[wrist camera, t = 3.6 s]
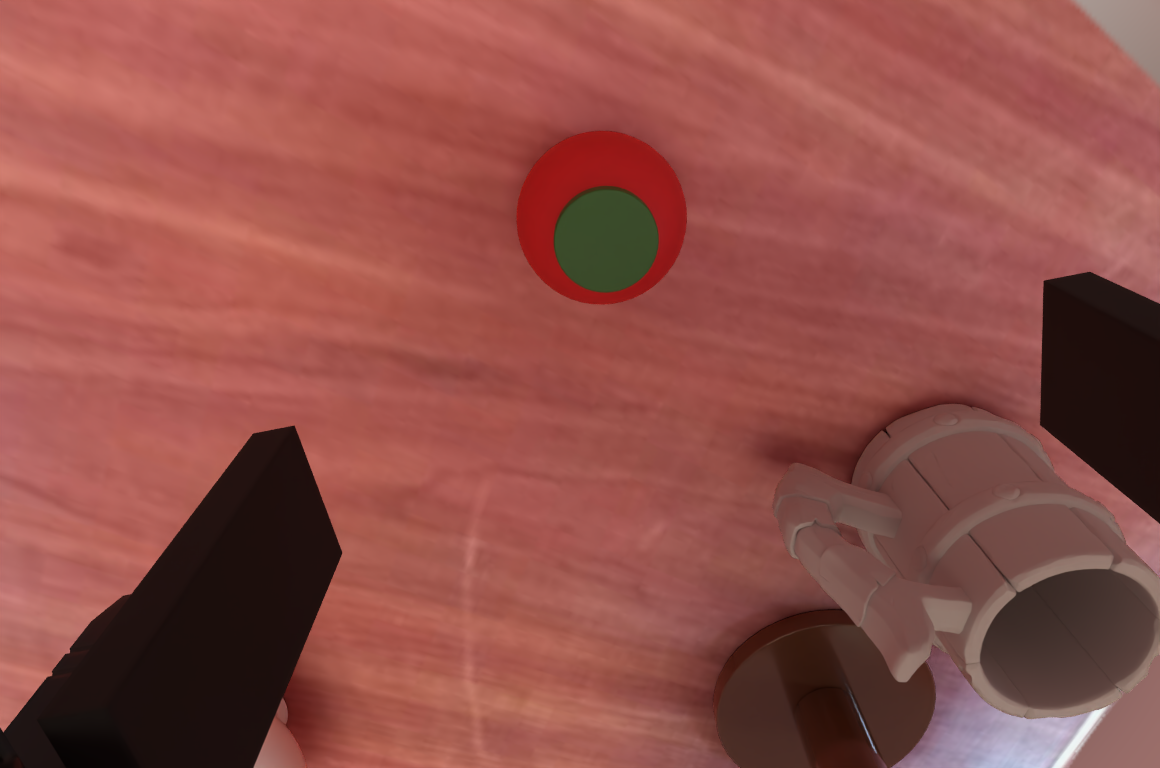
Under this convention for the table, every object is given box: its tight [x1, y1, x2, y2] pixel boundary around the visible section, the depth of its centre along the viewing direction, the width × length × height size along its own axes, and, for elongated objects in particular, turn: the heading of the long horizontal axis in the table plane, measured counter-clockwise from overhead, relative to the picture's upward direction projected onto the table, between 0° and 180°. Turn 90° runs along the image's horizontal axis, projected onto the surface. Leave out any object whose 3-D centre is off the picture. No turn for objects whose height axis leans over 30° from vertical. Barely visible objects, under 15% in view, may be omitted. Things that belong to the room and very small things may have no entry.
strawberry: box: [517, 131, 687, 304], centre depth 26 cm, size 5×5×6 cm
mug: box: [772, 404, 1160, 719], centre depth 28 cm, size 8×12×12 cm, turn 80°
